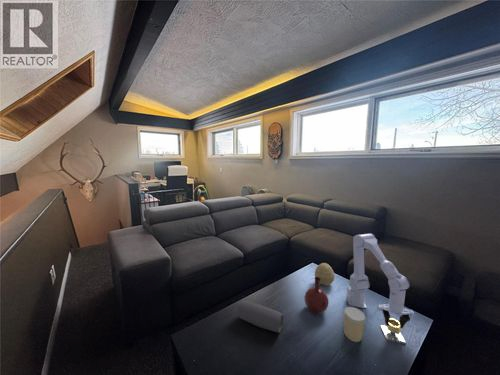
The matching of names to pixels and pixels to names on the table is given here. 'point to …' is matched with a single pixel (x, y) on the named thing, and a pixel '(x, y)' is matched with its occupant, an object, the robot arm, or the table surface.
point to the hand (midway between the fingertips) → (393, 325)
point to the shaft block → (392, 335)
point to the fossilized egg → (324, 274)
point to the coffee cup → (354, 323)
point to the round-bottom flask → (316, 298)
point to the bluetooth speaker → (261, 316)
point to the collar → (394, 326)
